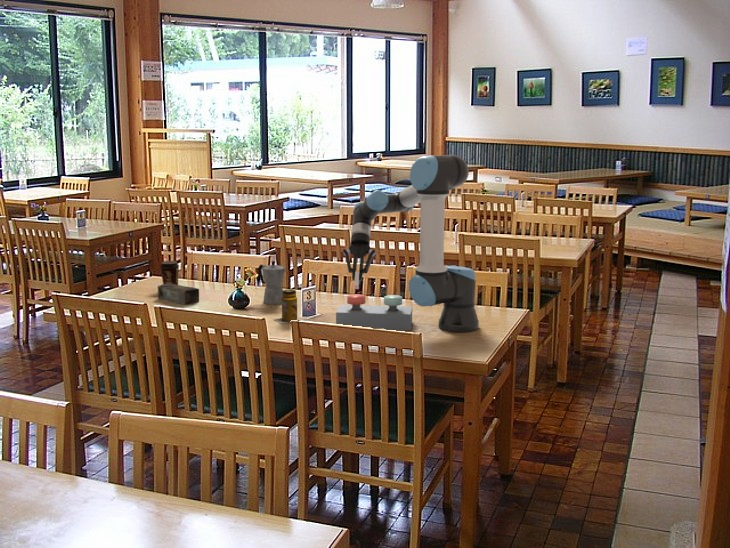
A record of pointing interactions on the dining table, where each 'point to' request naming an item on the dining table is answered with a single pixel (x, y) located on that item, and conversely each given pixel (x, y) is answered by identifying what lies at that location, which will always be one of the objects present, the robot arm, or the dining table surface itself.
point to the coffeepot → (272, 282)
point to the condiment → (288, 306)
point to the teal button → (393, 301)
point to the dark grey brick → (178, 293)
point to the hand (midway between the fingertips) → (356, 287)
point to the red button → (356, 300)
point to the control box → (375, 317)
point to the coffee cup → (169, 272)
